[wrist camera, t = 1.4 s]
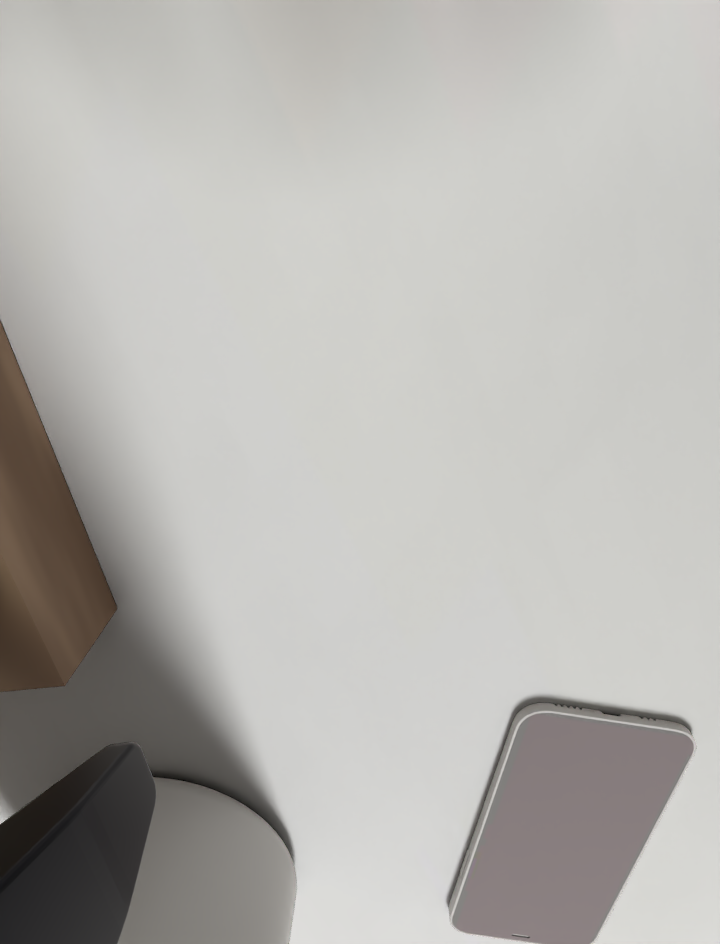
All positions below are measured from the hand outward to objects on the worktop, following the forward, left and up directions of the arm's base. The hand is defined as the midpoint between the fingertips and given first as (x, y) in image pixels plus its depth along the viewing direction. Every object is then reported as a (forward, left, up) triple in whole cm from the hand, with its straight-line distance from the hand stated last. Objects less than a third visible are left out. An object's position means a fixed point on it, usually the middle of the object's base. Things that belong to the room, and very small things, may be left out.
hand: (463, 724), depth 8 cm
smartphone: (+13, +16, -13) cm, 24 cm away
